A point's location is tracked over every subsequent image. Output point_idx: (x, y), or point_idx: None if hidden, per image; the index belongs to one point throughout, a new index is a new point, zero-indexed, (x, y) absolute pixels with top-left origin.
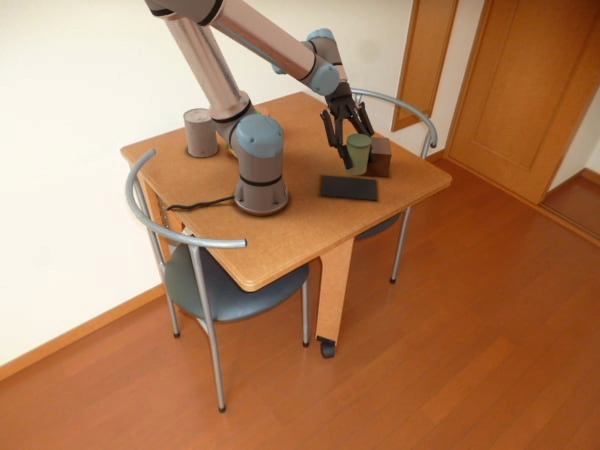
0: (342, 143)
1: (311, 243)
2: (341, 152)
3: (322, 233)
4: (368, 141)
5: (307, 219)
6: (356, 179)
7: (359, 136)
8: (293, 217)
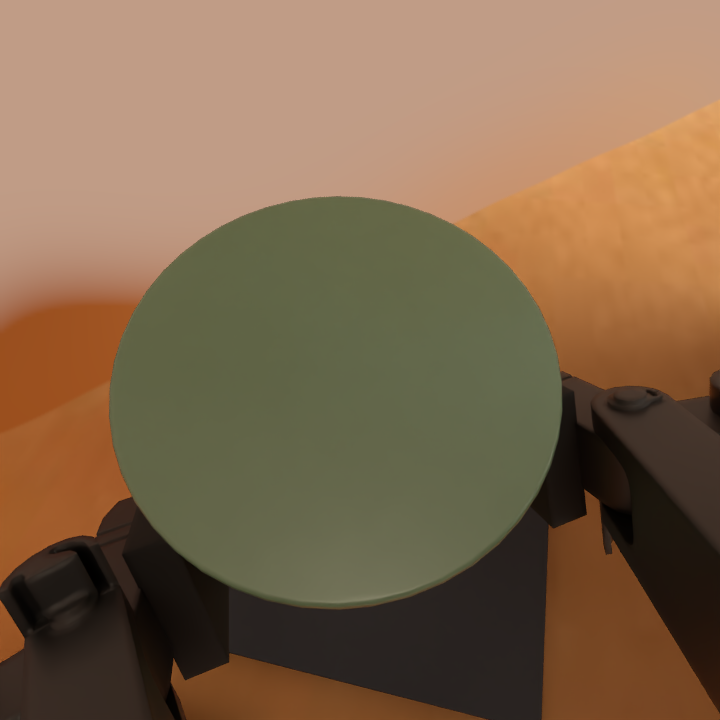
0: (600, 407)
1: (585, 187)
2: (564, 375)
3: (542, 227)
4: (194, 296)
5: (613, 306)
6: (286, 647)
7: (297, 466)
8: (683, 323)
